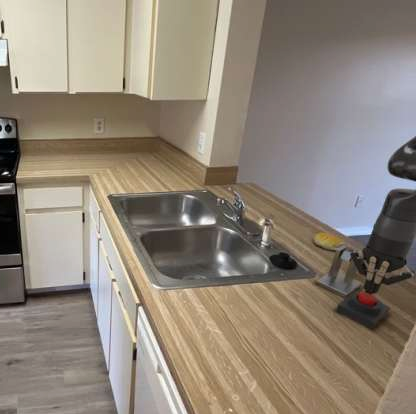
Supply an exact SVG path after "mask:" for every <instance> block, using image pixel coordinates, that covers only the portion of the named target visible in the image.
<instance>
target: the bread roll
mask: <svg viewBox="0 0 416 414" xmlns="http://www.w3.org/2000/svg"><path fill="white" fill-rule="evenodd" d="M313 243H314V244H315V245H317V247H322V248H323V249H325V250H329V251H336V250H337V249H338V248H339V247H341V246H343V245H345V243H344V241H343V240H342V239H341V237H339V236H336V235H332V234H331V233H328V232H319V233H317V234H315V235H314V237H313Z"/></svg>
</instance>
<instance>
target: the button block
mask: <svg viewBox="0 0 416 414" xmlns="http://www.w3.org/2000/svg"><path fill="white" fill-rule="evenodd" d="M360 292H361V291H357V290H355V291H354V292H352V293H351V294H350V295H349V296H347V297H346V298H344V299H343V300H342V301H341V302H339V303H338V305H337V308H336V312H337V313H339V314H341V315H343V316H345V317H347V318H349V319H351V320H354V321H355V322H357V323H359V324H361V325H363V326H364V327H366V328H369V329H371V330H372V329H374V328H375V327H376V325H378V324H379V323H380V322H381V321H382V319H384V318H385V317H386V316H387V315H388V313H389V311H390V309H391V306H389V305H386V304H384V303H383V302H382V301H381V300H379V299H378V298H377V300H376V303H375V305H374V306H370V305H366V304H364V303H362V302H360V301H359V300H358V296H359V293H360Z"/></svg>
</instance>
